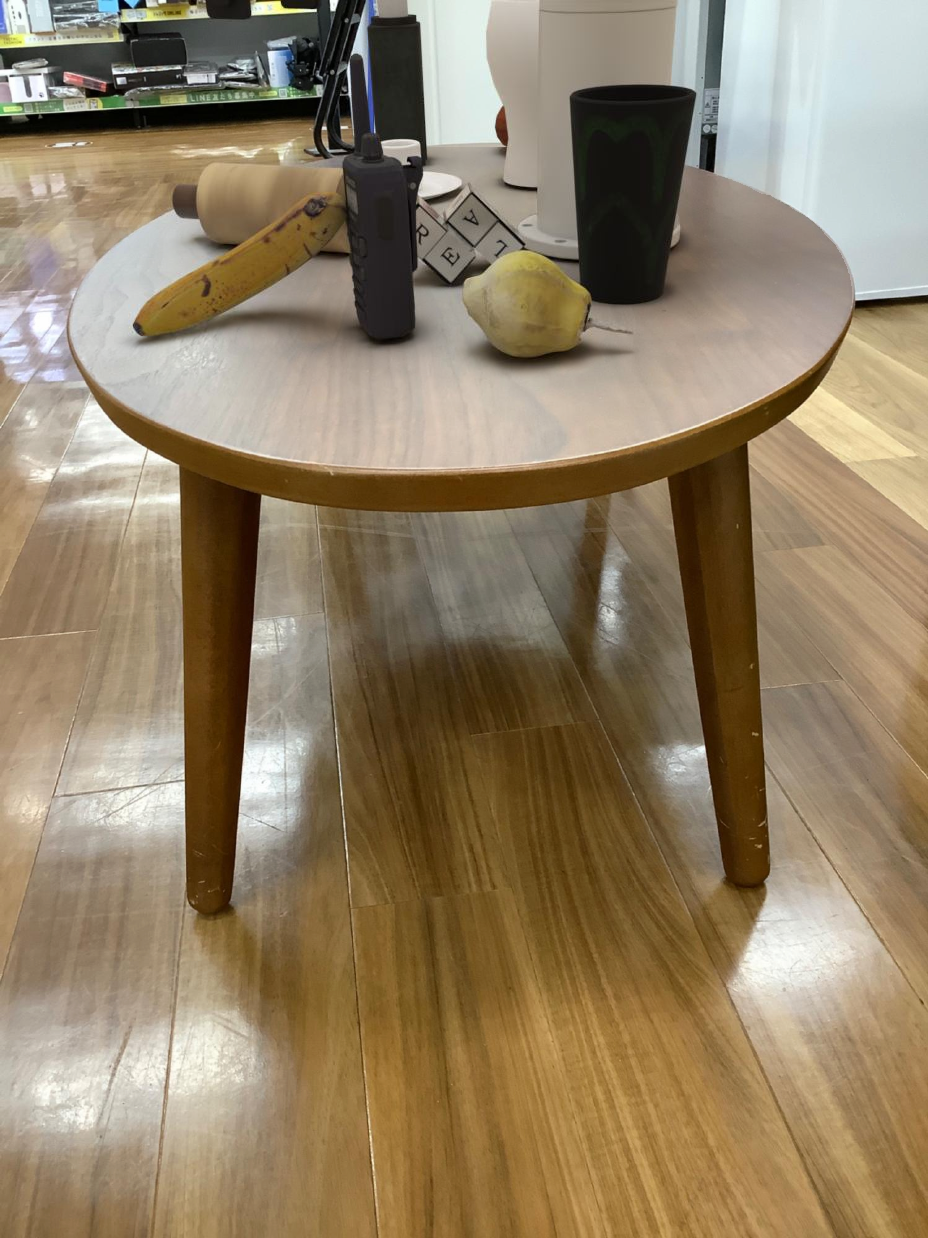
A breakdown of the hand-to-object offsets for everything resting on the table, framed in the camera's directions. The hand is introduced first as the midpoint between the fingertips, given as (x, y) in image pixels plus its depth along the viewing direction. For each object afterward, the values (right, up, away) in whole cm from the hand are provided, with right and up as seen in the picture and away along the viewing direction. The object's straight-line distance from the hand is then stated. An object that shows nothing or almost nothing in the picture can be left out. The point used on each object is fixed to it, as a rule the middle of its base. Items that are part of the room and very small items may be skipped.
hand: (267, 12), depth 71 cm
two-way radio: (+10, -25, -8) cm, 28 cm away
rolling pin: (0, -13, +9) cm, 16 cm away
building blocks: (+14, -18, +1) cm, 23 cm away
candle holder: (+8, -3, +24) cm, 25 cm away
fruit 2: (+19, -27, -12) cm, 35 cm away
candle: (+7, +5, +36) cm, 37 cm away
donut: (+24, +13, +36) cm, 45 cm away
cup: (+25, -21, -3) cm, 33 cm away
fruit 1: (0, -20, -10) cm, 23 cm away
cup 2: (+22, -1, +26) cm, 34 cm away
